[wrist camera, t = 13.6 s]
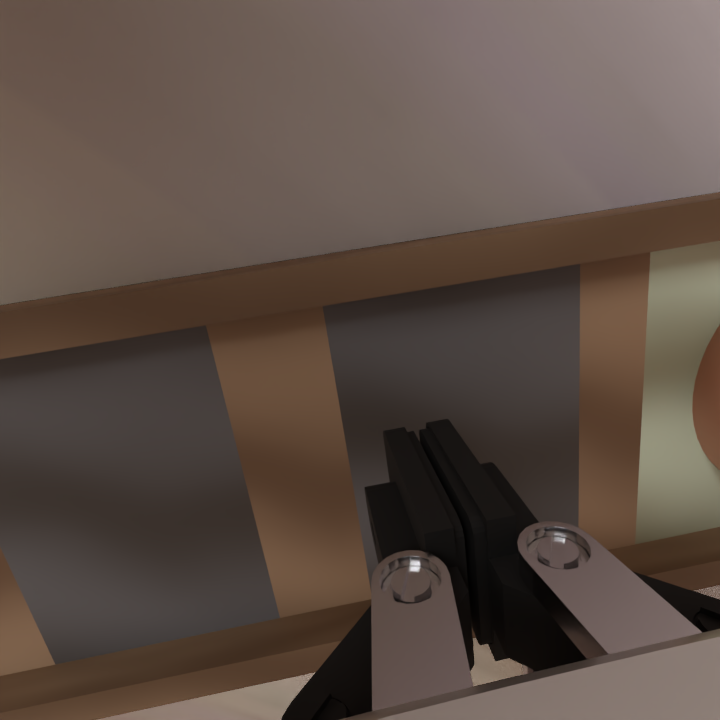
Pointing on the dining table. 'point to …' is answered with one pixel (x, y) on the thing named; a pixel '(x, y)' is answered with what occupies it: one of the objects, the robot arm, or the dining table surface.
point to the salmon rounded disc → (708, 401)
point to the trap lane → (332, 440)
